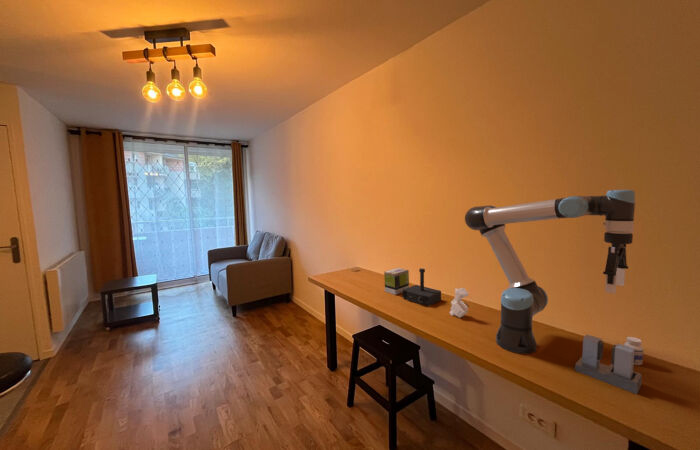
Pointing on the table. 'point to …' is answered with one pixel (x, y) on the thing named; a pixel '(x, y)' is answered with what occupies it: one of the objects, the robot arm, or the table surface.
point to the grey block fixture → (603, 366)
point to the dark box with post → (422, 293)
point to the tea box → (396, 280)
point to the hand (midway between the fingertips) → (614, 288)
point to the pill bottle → (636, 349)
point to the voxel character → (459, 303)
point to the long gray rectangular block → (623, 360)
